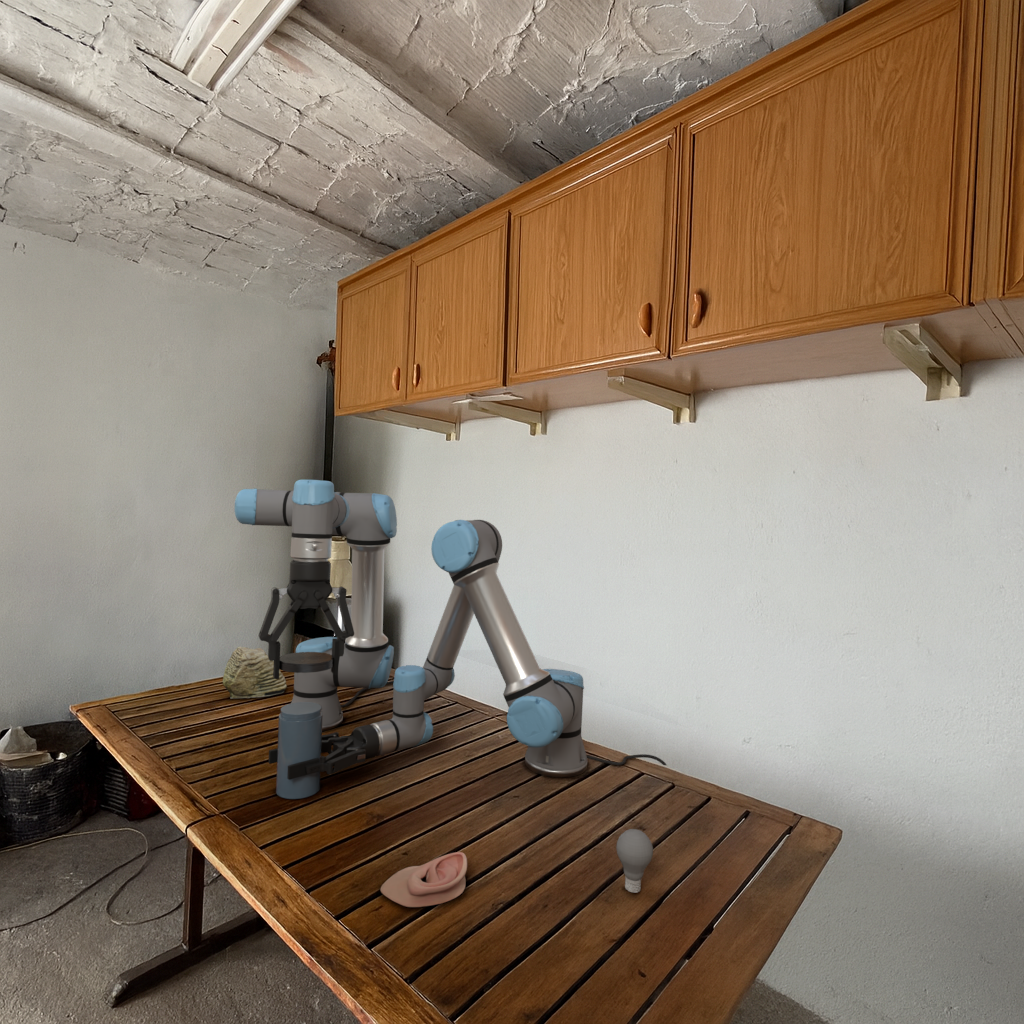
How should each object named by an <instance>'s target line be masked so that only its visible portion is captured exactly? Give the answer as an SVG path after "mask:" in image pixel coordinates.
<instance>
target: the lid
mask: <svg viewBox="0 0 1024 1024" xmlns="http://www.w3.org/2000/svg"><path fill="white" fill-rule="evenodd" d="M333 663H334V657H333V656H332V655H330V654H327V653H320V652H298V653H296V652H291V653H286V654H282V655H280V667H279V670H280V671H282V672H287V673H311V672H320V671H324V670H328V669H330V668H332V667H333Z"/></svg>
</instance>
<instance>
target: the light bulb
mask: <svg viewBox="0 0 1024 1024" xmlns="http://www.w3.org/2000/svg"><path fill="white" fill-rule="evenodd" d="M615 849H616V854H617V857H618V859H619V861H620V863H621V865H622V867H623V873H624V874H623V875H624V876H625V878H624V888H625V890H627V891H628V892H630V893H634V894H635V893H639V892H640V891H641V889H642V887H641V886H642V879H643V877H644V875H645V871H646V868H647V867H648V866H649V864H650V863H651V861H652V859H653V855H654V847H653V843H652V841H651V838H649V836H648V835H647V834H646V833H645V832H643V831H642V830H641V829H636V828H629V829H627V830H625V831H623V832H622V833H621V834H620V835H619V837H618V839H617V841H616V847H615Z"/></svg>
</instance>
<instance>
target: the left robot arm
mask: <svg viewBox="0 0 1024 1024" xmlns="http://www.w3.org/2000/svg"><path fill="white" fill-rule="evenodd" d="M234 515H235V518H236V520H237V522H238V523H240V524H241V525H251V526H268V527H269V526H270V527H271V526H273V527H291V536H290V537H291V539H290V558H292V559H293V560H291V561H290V563H289V578H288V579H289V580H288V581H289V582H288V585H286V587H275V586H274V587H272V588H271V589H270V590H271V591H270V597H271V598H270V602H269V604H268V607H267V610H266V613H265V615H264V619H263V621H262V624H261V627H260V630H259V633H258V639H259V640H260V641H261V642H266V643H268V646H267V649H268V650H267V655H268V658H269V660H270V661H271V660H273V661H274V668H273V676H274V679H279V670H280V669H279V667H280V657H281V643H280V641H279V639H280V637H281V635H283V632H284V631H285V629H286V628H287V626H288V624H289V623H290V621H291V620H292V618H293V617H294V615H295V614H296V613H297V611H298V610H299V609H300V610H306V609H320V610H321V612H322V614H323V616H324V618H325V619H326V620H327V622H328V624H329V626H330V627H331V629H332V631H333V633H334V635H335V637H334V636H324V637H322V636H321V637H315V638H311V639H307V640H304V641H302V642H300V643H298V644H297V645H296V648H295V653H298V652H320V653H327V654H330V655H332V656H333V657H334V663H333V667H332V668H330V669H328V670H324V671H320V672H311V673H294V672H293V673H294V674H293V695H292V696H293V697H292V699H291V702H290V704H291V703H296V702H313V703H317V704H319V705H321V706H322V710H321V711H322V713H323V719H322V732H325V731H329V730H332V729H335V728H337V727H339V726H340V725H342V723H343V722H344V714H343V709H344V708H346V707H348V706H350V705H351V704H352V703H353V702H354V701H356V699H357V698H358V697H359V695H360V694H361V693H363V692H365V691H368V690H370V689H381V688H384V687H385V686H386V685H393V683H394V680H390V681H389V678H390V675H391V671H392V666H393V661H394V656H395V655H394V654H395V647H394V646H393V645H391V644H389V638H388V637H387V636H386V634H384V631H383V630H384V625H383V624H384V593H385V592H384V590H385V589H384V587H385V584H384V583H385V549H387V548H388V547H389V545H390V544H391V539H393V538H395V537H396V535H397V532H398V531H397V530H398V528H397V526H398V519H397V511H396V506H395V503H394V500H393V498H392V497H391V496H390V495H388V494H381V493H374V492H372V493H371V492H343V491H342V492H341V491H335V485H334V483H333V482H332V481H329V480H319V479H298V480H296V481H295V482H294V484H293V490H284V489H283V490H282V489H266V488H265V489H264V488H254V487H253V488H244V489H241V490H239V491H238V492H237V494H236V496H235V500H234ZM333 536H346V544H347V545H348V546H349V547H350V548H351V611H349V607H348V603H347V591H348V590H347V588H345V587H344V586H339V587H336V586H332V585H331V573H332V563H331V561H329V559H331V558H332V549H333V548H332V542H333ZM332 594H333V596H334V598H336V599H337V604H338V609H339V612H340V616H341V620H342V624H343V627H344V630H342V629H341V626H340V625H339V623H338V621H337V619H336V618H335V616H334V614H333V612H332V611H331V609H330V607H329V605H328V603H327V600H328V598H329V597H330V596H331V595H332ZM285 595H287V596H288V598H290V600H291V601H290V603H289V605H288V606H287V608H286V610H285V611H284V613H283V614H282V616H281V617H280V619H279V620H278V623H277V624H276V625H275V627H274V628H273V630H272V631H271V633H269V632H270V629H271V628H272V624H273V621H274V619H275V616H276V613H277V610H278V608H279V604H280V601H281V600H283V599H284V597H285ZM350 612H351V613H350ZM338 688H355V689H357V688H358V689H360V690H358V691H357V692H356V693H355V695H354V696H353V697H352V698H351V699H349V700H348V701H347V702H346V703H344V704H341V702H340V699H339V695H338ZM342 708H343V709H342Z"/></svg>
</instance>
